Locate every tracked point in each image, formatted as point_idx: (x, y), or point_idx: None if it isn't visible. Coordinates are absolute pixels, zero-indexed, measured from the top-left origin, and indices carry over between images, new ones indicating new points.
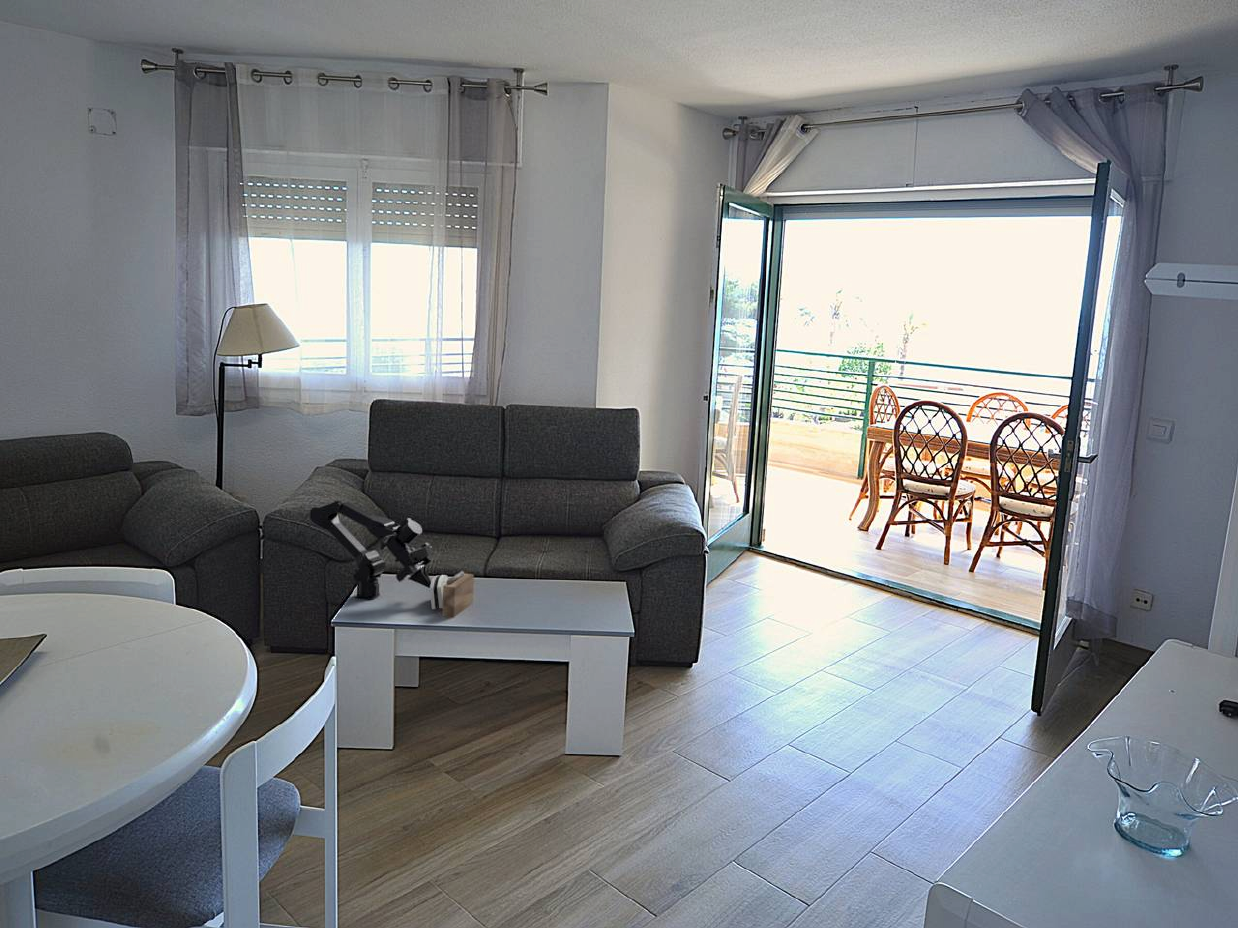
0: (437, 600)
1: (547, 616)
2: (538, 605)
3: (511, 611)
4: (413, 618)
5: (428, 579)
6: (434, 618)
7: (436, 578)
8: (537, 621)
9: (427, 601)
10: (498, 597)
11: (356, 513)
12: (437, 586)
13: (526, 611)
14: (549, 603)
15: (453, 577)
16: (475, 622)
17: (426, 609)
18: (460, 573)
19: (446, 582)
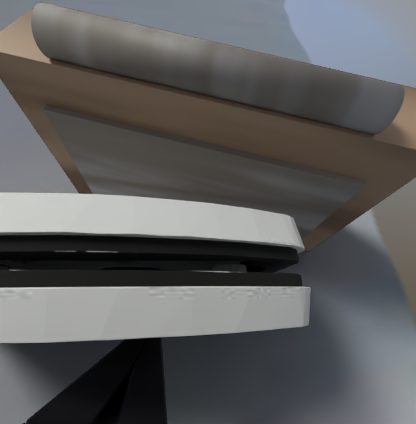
0: (274, 271)
1: (223, 19)
2: (133, 22)
3: None
4: (412, 398)
5: (108, 403)
6: (357, 280)
7: (85, 279)
8: (265, 34)
9: (63, 387)
10: None
11: None
12: (298, 244)
13: None
14: (114, 6)
15: (291, 61)
16: None
17: (234, 354)
18: (120, 21)
19: (385, 127)
